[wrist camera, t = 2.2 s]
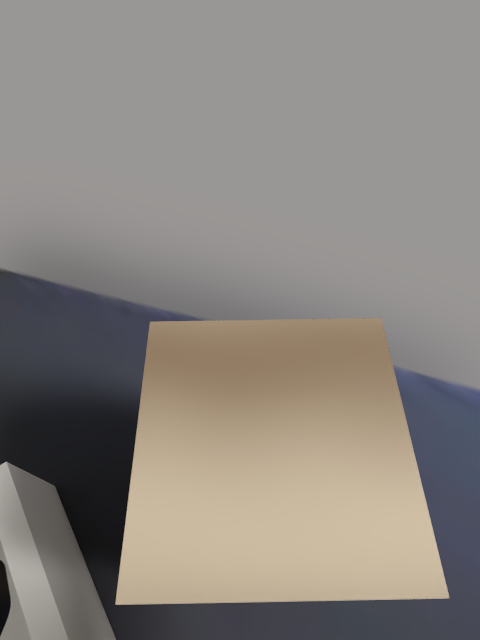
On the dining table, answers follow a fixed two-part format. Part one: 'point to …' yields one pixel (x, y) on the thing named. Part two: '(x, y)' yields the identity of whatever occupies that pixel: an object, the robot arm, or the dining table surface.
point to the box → (44, 565)
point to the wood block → (274, 469)
